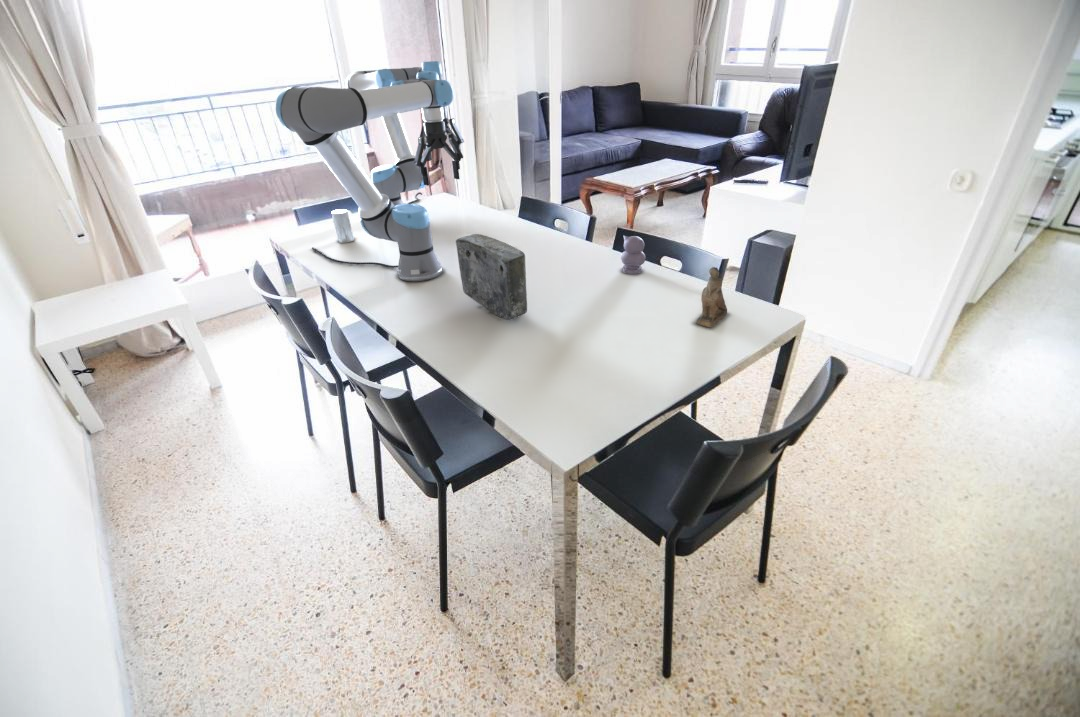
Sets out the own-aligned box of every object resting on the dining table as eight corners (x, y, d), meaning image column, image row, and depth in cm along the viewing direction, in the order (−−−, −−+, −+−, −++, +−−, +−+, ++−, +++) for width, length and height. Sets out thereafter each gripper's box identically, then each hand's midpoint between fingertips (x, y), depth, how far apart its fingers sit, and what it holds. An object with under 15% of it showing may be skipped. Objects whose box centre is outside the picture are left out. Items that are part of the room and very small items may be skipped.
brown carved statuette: (709, 335, 136) (713, 280, 124) (691, 329, 139) (693, 274, 128) (730, 313, 142) (736, 258, 130) (712, 307, 145) (716, 253, 133)
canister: (344, 243, 208) (336, 214, 202) (335, 241, 212) (328, 212, 205) (356, 239, 213) (350, 210, 206) (348, 237, 216) (341, 208, 210)
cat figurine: (649, 270, 171) (652, 236, 165) (636, 276, 167) (638, 242, 160) (628, 264, 176) (630, 231, 170) (615, 271, 172) (617, 237, 165)
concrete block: (534, 321, 142) (531, 253, 131) (508, 330, 137) (503, 261, 127) (486, 291, 160) (480, 231, 150) (462, 299, 156) (454, 237, 145)
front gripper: (456, 116, 188) (463, 175, 200) (397, 123, 175) (408, 186, 186) (468, 117, 184) (474, 177, 195) (408, 125, 170) (418, 189, 181)
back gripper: (405, 106, 202) (413, 161, 213) (460, 106, 195) (466, 163, 206) (414, 104, 208) (422, 158, 219) (468, 104, 201) (473, 160, 212)
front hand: (442, 181), depth 190 cm, fingers open, 13 cm apart
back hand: (443, 161), depth 212 cm, fingers open, 13 cm apart
